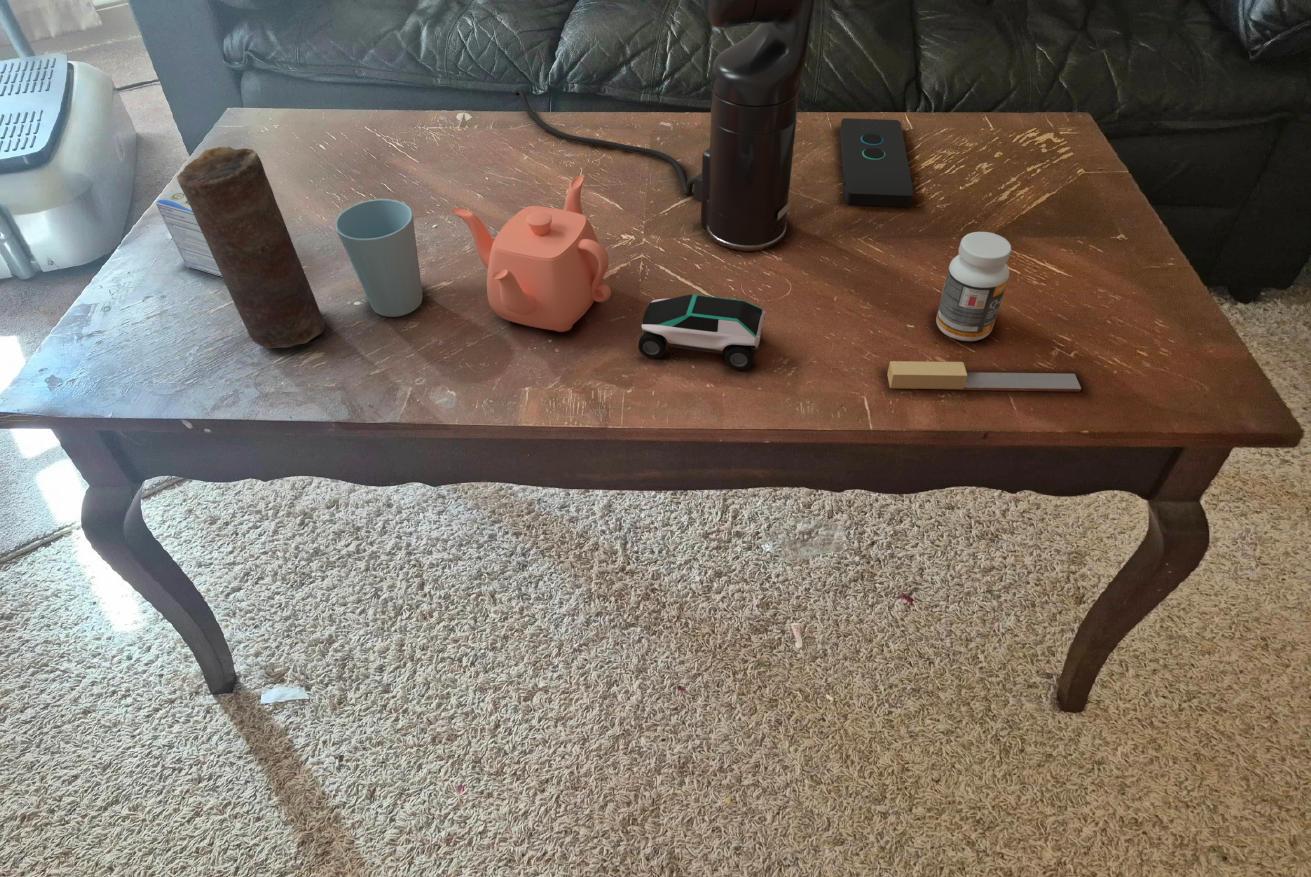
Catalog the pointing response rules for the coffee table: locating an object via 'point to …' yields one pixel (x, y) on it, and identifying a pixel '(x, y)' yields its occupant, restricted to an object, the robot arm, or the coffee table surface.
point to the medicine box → (186, 232)
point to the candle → (251, 246)
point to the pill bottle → (974, 287)
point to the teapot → (542, 264)
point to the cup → (383, 254)
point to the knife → (973, 378)
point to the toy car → (703, 327)
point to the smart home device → (875, 163)
